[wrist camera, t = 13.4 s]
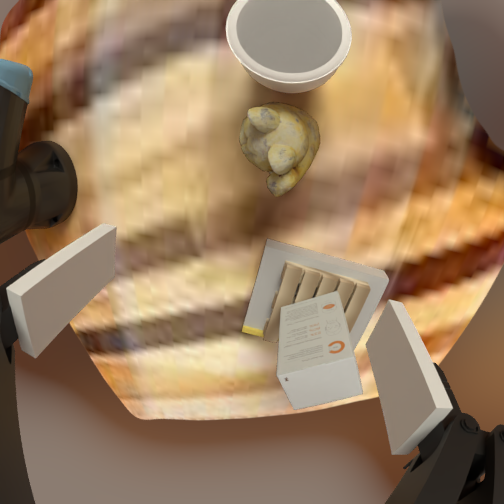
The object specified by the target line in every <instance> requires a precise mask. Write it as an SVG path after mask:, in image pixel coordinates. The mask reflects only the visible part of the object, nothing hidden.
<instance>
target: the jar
mask: <svg viewBox="0 0 504 504" xmlns="http://www.w3.org/2000/svg"><path fill="white" fill-rule="evenodd" d="M226 35H227V40H228V43H229V46H230V48H231V50H232V52H233V53H234V55H235V56H236V57H237V59H238V60H239V61H240V62H241V64H242V65H243V67H244V69H245V70H246V71H247V72H248V74H249V75H250V76H251V77H252V78H254V79H255V80H256V81H257V82H259V83H260V84H262V85H263V86H265V87H267V88H270V89H272V90H275V91H279V92H283V93H302V92H307V91H310V90H313V89H315V88H317V87H319V86H321V85H323V84H324V83H325V82H327V81H328V80H329V79H330V78H331V77H332V76H333V75H334V73H335V72H336V70H337V69H338V67H339V66H340V65H341V64H342V63H343V61H344V60H345V58H346V57H347V54H348V52H349V49H350V45H351V39H352V32H351V26H350V22H349V19H348V17H347V15H346V13H345V11H344V10H343V8H342V7H341V6H340V5H339V3H338V2H337V1H336V0H237V1H236V2H235V4H234V5H233V7H232V8H231V10H230V12H229V15H228V18H227V23H226Z"/></svg>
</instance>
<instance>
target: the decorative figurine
mask: <svg viewBox="0 0 504 504" xmlns="http://www.w3.org/2000/svg"><path fill="white" fill-rule="evenodd" d="M247 114H248V116H247V117H246V119H244V120H243V123H242V127H241V131H240V137H239V142H240V144H241V149H242V151H243V153H244V154H245V156H246V157H247V159H248V160H249V161H250V162H252V163H253V164H254V165H256V166H257V167H258V168H260V169H261V170H262V171H269V173H270V174H271V175H270V176H269V177H268V178H267V180H266V182H267V187H268V189H269V190H270V191H271V193H272V194H273V195H275V196H276V197H279V196H281V195H283V194H284V193H286V192H288V191H289V190H290V189H292V188H293V187H294V186H295V185H296V184H297V182H298V181H299V180H300V179H301V178H302V177H303V176H304V174H305V173H306V171H307V170H308V168H309V167H310V165H311V163H312V161H313V159H314V157H315V155H316V153H317V151H318V148H319V145H320V134H319V127H318V125H317V122H316V121H315V120H314V119H313V118H312V117H311V116H310V115H309V114H308V113H306V112H305V111H303V110H301V109H299V108H297V107H294V106H291V105H288V104H284V103H278V102H272V103H267V104H264V105H262V106H260V107H254V108H250V109H249V110H248V113H247Z"/></svg>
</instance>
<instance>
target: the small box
mask: <svg viewBox="0 0 504 504" xmlns="http://www.w3.org/2000/svg"><path fill="white" fill-rule="evenodd" d="M276 376H277V378H278V379H279V381H280V383H281V385H282V387H283V389H284V391H285V393H286V395H287V397H288V399H289V401H290V403H291V405H292V407H293V409H294V410H297V409H302V408H307V407H311V406H316V405H321V404H325V403H329V402H333V401H337V400H341V399H345V398H349V397H353V396H357V395H360V394H363V390H362V384H361V379H360V375H359V370H358V366H357V361H356V357H355V353H354V349H353V345H352V341H351V337H350V333H349V329H348V325H347V321H346V317H345V313H344V310H343V306H342V302H341V299H340V295H339V293H338V291H334V292H331V293H328V294H324V295H321V296H318V297H314V298H311V299H307V300H304V301H301V302H297V303H294V304H290V305H287V306H283V307H281V312H280V325H279V343H278V358H277V372H276Z"/></svg>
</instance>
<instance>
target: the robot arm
mask: <svg viewBox="0 0 504 504" xmlns="http://www.w3.org/2000/svg"><path fill="white" fill-rule="evenodd" d="M32 81H33V73H32V70H31V69H30V68H29V67H28V66H26V65H23V64H20V63H16V62H12V61H8V60H4V59H0V244H1V243H3V242H4V241H6V240H8V239H9V238H11V237H13V236H15V235H16V234H18V233H20V232H22V231H24V230H26V229H42V228H50V227H53V226H55V225H57V224H59V223H61V222H63V221H64V220H65V219H67V217H68V216H69V215H70V213H71V212H72V210H73V208H74V205H75V201H76V196H77V178H76V172H75V169H74V166H73V163H72V161H71V159H70V157H69V155H68V154H67V152H66V151H65V150H64V149H63V148H62V147H61V146H60V145H59V144H57V143H55V142H52V141H41V142H36V143H33V144H30V145H29V146H27V147H26V148H24V149H23V150H21V151H20V152H19V153H18V150H19V144H20V138H21V132H22V127H23V123H24V118H25V113H26V109H27V105H28V104H29V94H30V90H31V85H32ZM115 245H116V227H115V226H112V225H108V224H105V223H103V224H101V225H99V226H98V227H96V228H95V229H93V230H91V231H90V232H88V233H86V234H85V235H83V236H82V237H80V238H78V239H77V240H75V241H74V242H72V243H71V244H69V245H68V246H66V247H64V248H63V249H61V250H60V251H58V252H57V253H55V254H54V255H52V256H51V257H49V258H48V259H46V260H45V259H43V260H40V261H37V262H35V263H33V264H31V265H30V266H28V267H27V268H25V270H22V271H21V272H20V273H19V274H17V275H15V276H14V277H13V278H11V279H10V280H8V281H7V282H6V283H4V284H3V285H1V286H0V504H35V501H34V498H33V494H32V490H31V486H30V482H29V478H28V474H27V469H26V464H25V459H24V454H23V448H22V442H21V436H20V428H19V421H18V412H17V400H16V385H15V350H14V346H13V343H14V342H15V341H16V340H17V339H19V343H20V346H21V349H22V351H24V352H26V353H27V354H29V355H31V356H33V357H34V358H37V356H38V355H39V354H40V353H41V352H42V351H43V350H44V348H46V347H47V345H48V344H49V343H50V342H51V341H52V340H53V339H54V338H55V337H56V336H57V335H58V333H60V332H61V330H62V329H63V328H64V327H65V326H66V325H67V324H68V323H69V322H70V321H71V320H72V319H73V318H74V317H75V316H76V315H77V314H78V313H79V312H80V311H81V310H82V309H83V308H84V307H85V306H86V305H87V304H88V303H89V302H90V301H91V300H92V299H93V298H94V297H95V296H96V295H97V294H98V293H99V292H100V291H101V290H102V289H103V288H104V287H105V286H106V285H107V284H108V283H109V282H110V281H111V280H112V279H113V278H114V275H115ZM366 348H367V351H368V355H369V358H370V362H371V366H372V370H373V373H374V377H375V381H376V385H377V389H378V393H379V397H380V401H381V405H382V410H383V414H384V419H385V423H386V428H387V433H388V436H389V442H390V447H391V452H392V454H409V453H410V452H411V451H412V450H414V448H416V446H418V447H419V451H420V453H419V454H418V455H417V456H416V457H415V458H413V459H412V460H411V461H410V462H409V463H408V464H407V465H406V466H405V467H403V468H404V469H406V468H407V467H408V466H409V468H408V469H407V471H406V473H405V474H404V476H403V477H402V479H401V481H400V482H399V484H398V485H397V487H396V488H395V490H394V491H393V493H392V494H391V495H390V497H389V498H388V500H387V501H386V503H385V504H504V425H498V426H496V427H495V428H494V429H493V430H492V431H491V432H486V431H483V430H480V427H479V424H478V423H477V421H476V420H475V419H474V418H473V417H472V416H470V415H468V414H465V413H461V410H460V408H459V406H458V403H457V401H456V399H455V397H454V394H453V392H452V390H451V389H450V385H449V383H448V382H447V379H446V377H445V375H444V373H443V371H442V370H441V369H440V367H439V366H438V365H437V364H436V363H433V362H432V360H431V358H430V356H429V354H428V352H427V350H426V348H425V346H424V343H423V341H422V340H421V338H420V336H419V334H418V332H417V330H416V328H415V326H414V324H413V322H412V320H411V318H410V316H409V314H408V313H407V311H406V309H405V307H404V305H403V303H401V302H397V301H393V300H388V302H387V304H386V306H385V308H384V310H383V312H382V314H381V316H380V318H379V320H378V322H377V324H376V326H375V328H374V330H373V332H372V334H371V335H370V337H369V339H368V341H367V343H366ZM484 473H485V478H484V480H483V481H482V482H480V477H481V476H482V475H483V474H484Z"/></svg>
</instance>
